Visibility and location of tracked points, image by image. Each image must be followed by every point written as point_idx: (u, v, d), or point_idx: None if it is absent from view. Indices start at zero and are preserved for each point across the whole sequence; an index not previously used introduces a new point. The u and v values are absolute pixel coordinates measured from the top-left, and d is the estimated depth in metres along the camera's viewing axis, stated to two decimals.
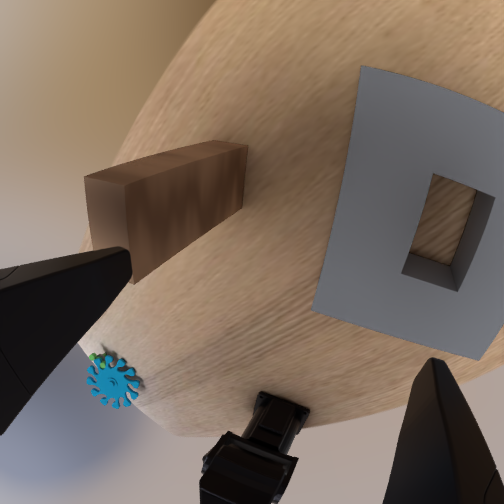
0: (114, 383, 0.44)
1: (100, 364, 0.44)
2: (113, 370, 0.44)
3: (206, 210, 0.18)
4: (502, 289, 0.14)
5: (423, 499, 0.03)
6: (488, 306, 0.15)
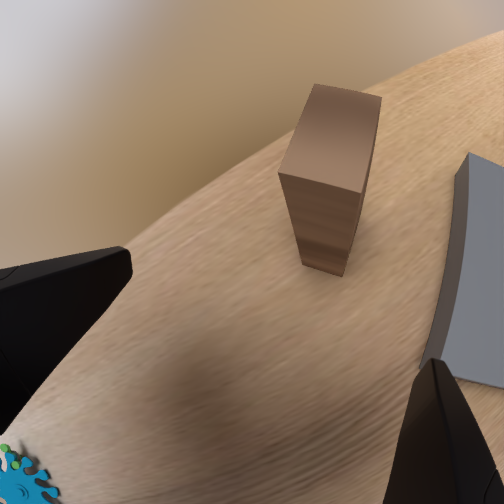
0: (24, 494, 0.16)
1: (12, 462, 0.18)
2: (29, 478, 0.18)
3: None
4: None
5: (423, 499, 0.03)
6: None
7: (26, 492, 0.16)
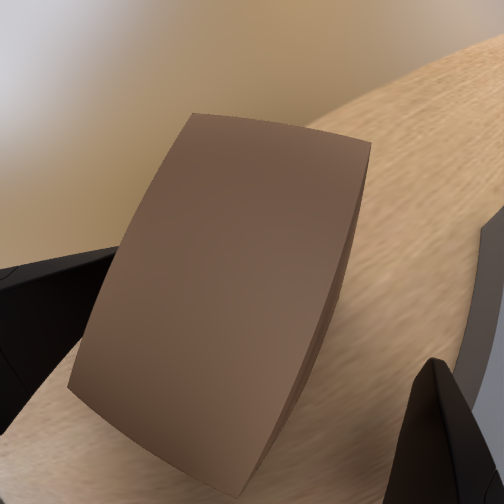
0: None
1: None
2: None
3: (311, 365, 0.09)
4: None
5: (423, 499, 0.03)
6: None
7: None
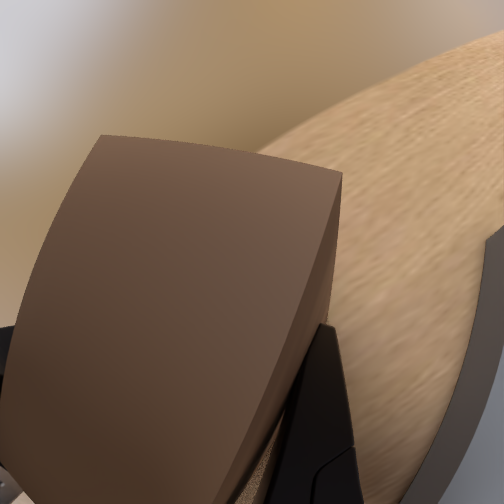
0: None
1: None
2: None
3: None
4: None
5: (272, 462, 0.04)
6: None
7: None
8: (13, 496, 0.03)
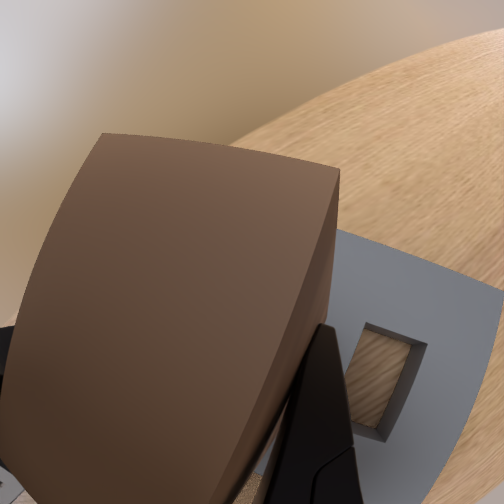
0: None
1: None
2: None
3: None
4: (437, 436, 0.13)
5: (271, 462, 0.04)
6: (421, 456, 0.12)
7: None
8: (13, 496, 0.03)
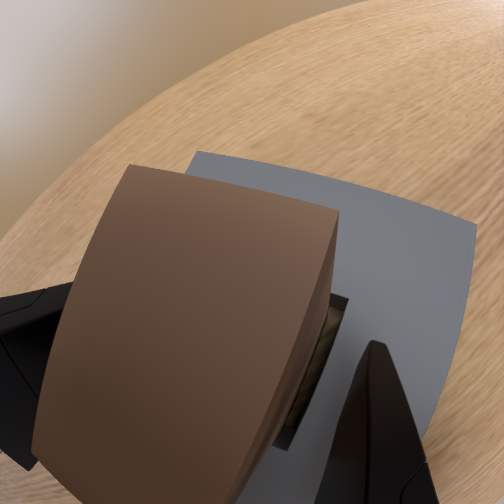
0: None
1: None
2: None
3: (290, 404, 0.09)
4: None
5: (343, 485, 0.04)
6: None
7: None
8: None
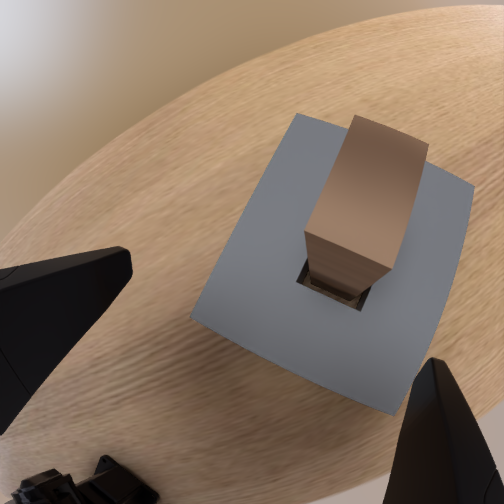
0: None
1: None
2: None
3: None
4: (415, 313, 0.15)
5: (423, 499, 0.03)
6: (400, 335, 0.15)
7: None
8: None
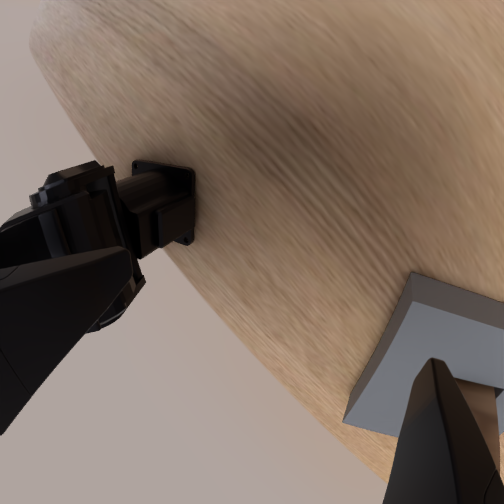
0: None
1: None
2: None
3: None
4: None
5: (423, 499, 0.03)
6: (397, 423, 0.20)
7: None
8: None
